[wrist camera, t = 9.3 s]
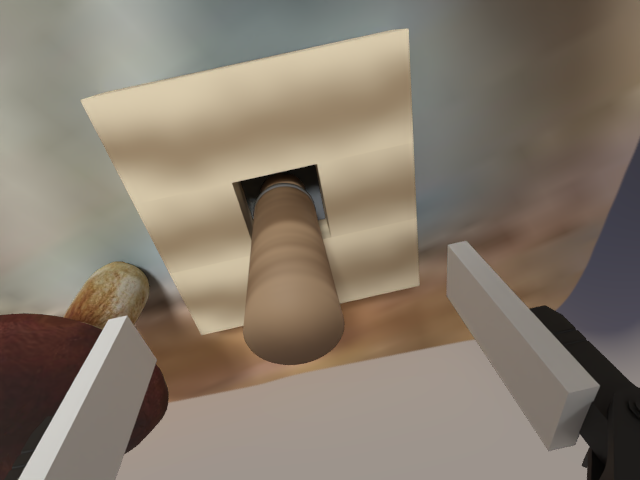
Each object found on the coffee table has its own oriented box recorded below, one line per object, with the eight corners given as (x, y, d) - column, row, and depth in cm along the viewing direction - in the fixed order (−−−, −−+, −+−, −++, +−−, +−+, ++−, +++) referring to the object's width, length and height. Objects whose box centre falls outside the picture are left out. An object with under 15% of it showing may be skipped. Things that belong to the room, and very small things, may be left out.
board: (103, 92, 21) (80, 99, 18) (391, 29, 21) (408, 28, 19) (207, 310, 30) (201, 335, 28) (406, 264, 30) (419, 285, 28)
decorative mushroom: (89, 184, 24) (-129, 358, 11) (226, 264, 28) (189, 454, 15) (26, 287, 27) (-200, 515, 14) (157, 344, 31) (78, 555, 19)
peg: (248, 174, 25) (227, 303, 13) (304, 162, 25) (337, 278, 13) (263, 224, 27) (258, 374, 15) (315, 212, 27) (352, 353, 15)
